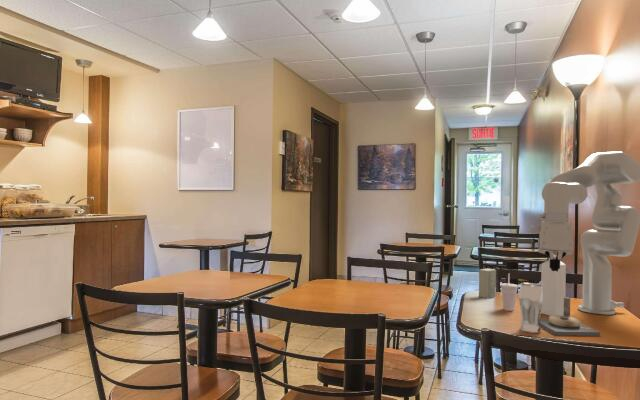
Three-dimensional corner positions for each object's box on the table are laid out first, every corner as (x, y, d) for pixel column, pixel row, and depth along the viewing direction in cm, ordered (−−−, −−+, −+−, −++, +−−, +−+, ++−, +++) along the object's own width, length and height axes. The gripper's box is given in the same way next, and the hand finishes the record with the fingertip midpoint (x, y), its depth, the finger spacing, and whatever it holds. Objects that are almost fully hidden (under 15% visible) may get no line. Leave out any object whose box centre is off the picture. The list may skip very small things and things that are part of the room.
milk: (565, 315, 167) (566, 256, 167) (555, 317, 164) (556, 257, 164) (549, 311, 173) (551, 254, 172) (540, 313, 170) (541, 255, 169)
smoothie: (514, 308, 177) (515, 272, 177) (520, 312, 171) (520, 275, 171) (497, 307, 178) (498, 272, 178) (502, 311, 172) (503, 274, 172)
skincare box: (487, 295, 201) (487, 268, 201) (496, 297, 197) (496, 269, 197) (478, 296, 198) (478, 269, 198) (486, 298, 194) (487, 270, 194)
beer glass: (514, 327, 150) (515, 282, 150) (534, 327, 150) (535, 282, 150) (526, 333, 143) (526, 286, 143) (546, 333, 143) (547, 286, 143)
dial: (568, 318, 156) (568, 297, 156) (586, 327, 145) (586, 304, 145) (541, 318, 156) (541, 297, 156) (557, 327, 145) (558, 304, 145)
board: (571, 322, 157) (571, 317, 157) (600, 336, 141) (600, 330, 141) (531, 321, 157) (531, 316, 157) (555, 335, 141) (555, 330, 141)
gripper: (534, 217, 154) (532, 270, 154) (583, 219, 150) (581, 273, 150) (530, 216, 162) (529, 267, 161) (577, 218, 157) (575, 270, 157)
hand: (554, 270), depth 156 cm, fingers closed
